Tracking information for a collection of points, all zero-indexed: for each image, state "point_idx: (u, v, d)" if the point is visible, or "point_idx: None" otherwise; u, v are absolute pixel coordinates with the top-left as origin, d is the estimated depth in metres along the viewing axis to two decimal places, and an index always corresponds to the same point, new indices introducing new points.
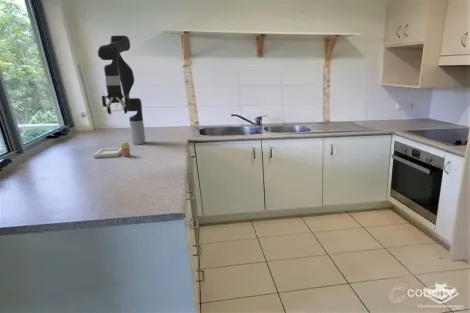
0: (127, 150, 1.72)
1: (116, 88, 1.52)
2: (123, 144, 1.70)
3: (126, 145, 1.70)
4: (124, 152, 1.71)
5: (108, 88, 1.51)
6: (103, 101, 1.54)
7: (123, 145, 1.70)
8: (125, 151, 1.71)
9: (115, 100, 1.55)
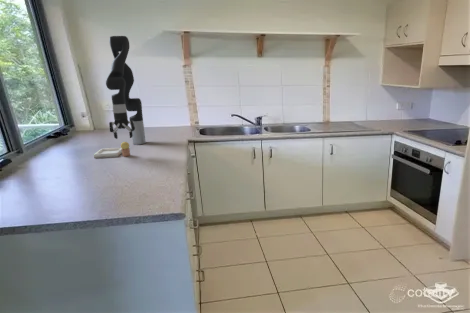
0: (127, 150, 1.72)
1: (122, 115, 1.64)
2: (123, 144, 1.70)
3: (126, 145, 1.70)
4: (124, 152, 1.71)
5: (115, 115, 1.64)
6: (110, 127, 1.67)
7: (123, 145, 1.70)
8: (125, 151, 1.71)
9: (121, 126, 1.68)
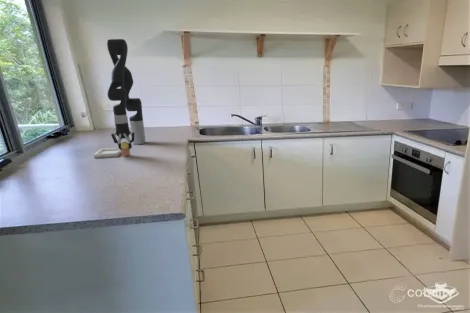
0: (127, 150, 1.72)
1: (124, 126, 1.66)
2: (123, 144, 1.70)
3: (126, 145, 1.70)
4: (124, 152, 1.71)
5: (117, 126, 1.65)
6: (113, 138, 1.69)
7: (123, 145, 1.70)
8: (125, 151, 1.71)
9: (123, 136, 1.69)
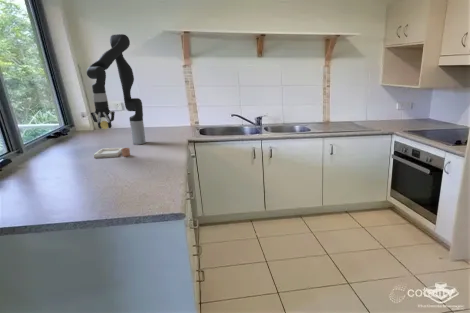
0: (127, 150, 1.72)
1: (103, 104, 1.67)
2: (102, 123, 1.71)
3: (106, 124, 1.71)
4: (124, 152, 1.71)
5: (96, 104, 1.66)
6: (93, 117, 1.70)
7: (102, 124, 1.71)
8: (125, 151, 1.71)
9: (102, 115, 1.70)
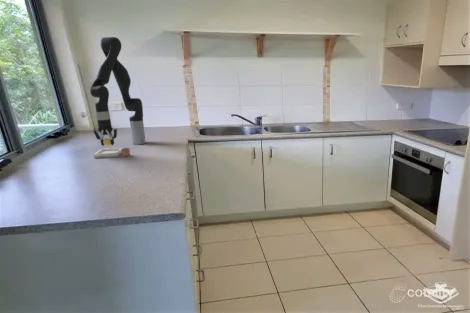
0: (127, 150, 1.72)
1: (106, 122, 1.70)
2: (105, 140, 1.74)
3: (108, 141, 1.74)
4: (124, 152, 1.71)
5: (99, 122, 1.69)
6: (96, 135, 1.73)
7: (105, 141, 1.73)
8: (125, 151, 1.71)
9: (105, 132, 1.73)
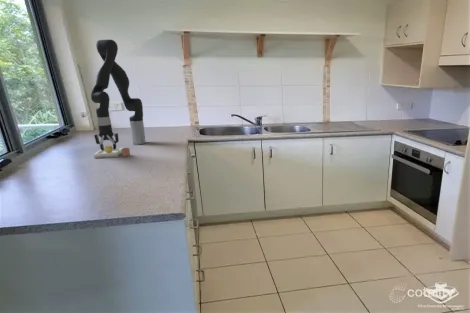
0: (127, 150, 1.72)
1: (107, 127, 1.71)
2: (107, 148, 1.75)
3: (110, 149, 1.76)
4: (124, 152, 1.71)
5: (100, 128, 1.70)
6: (96, 139, 1.74)
7: (107, 149, 1.75)
8: (125, 151, 1.71)
9: (106, 137, 1.74)
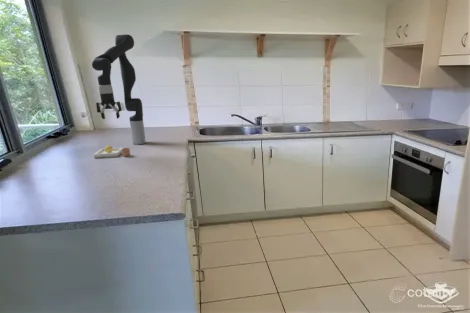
0: (127, 150, 1.72)
1: (109, 96, 1.68)
2: (107, 148, 1.75)
3: (109, 149, 1.76)
4: (124, 152, 1.71)
5: (101, 96, 1.68)
6: (97, 107, 1.71)
7: (107, 149, 1.75)
8: (125, 151, 1.71)
9: (108, 106, 1.72)
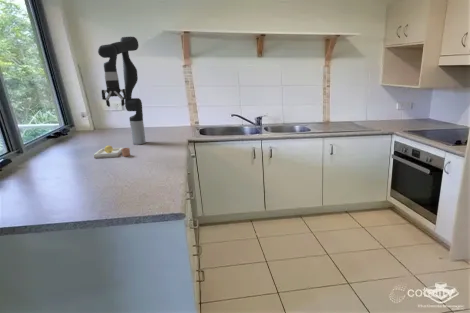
0: (127, 150, 1.72)
1: (114, 83, 1.69)
2: (106, 148, 1.75)
3: (109, 149, 1.76)
4: (124, 152, 1.71)
5: (107, 83, 1.68)
6: (102, 95, 1.72)
7: (106, 149, 1.75)
8: (125, 151, 1.71)
9: (113, 94, 1.72)
